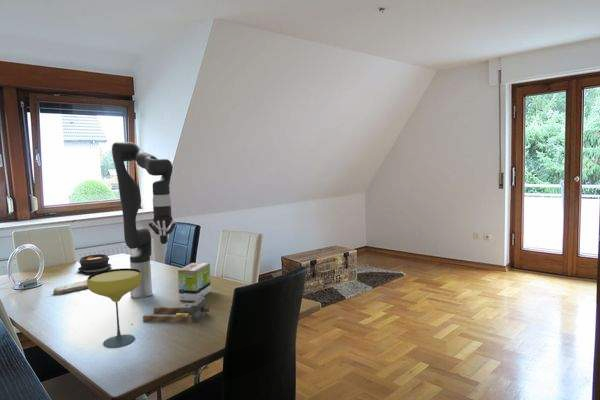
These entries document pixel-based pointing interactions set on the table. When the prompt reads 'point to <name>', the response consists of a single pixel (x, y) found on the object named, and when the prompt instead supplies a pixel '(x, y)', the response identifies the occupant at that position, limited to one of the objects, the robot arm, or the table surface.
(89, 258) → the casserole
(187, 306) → the dice cube
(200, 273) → the tea box
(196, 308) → the guide channel
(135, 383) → the table surface
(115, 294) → the cocktail glass
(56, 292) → the elongated rock
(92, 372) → the table surface
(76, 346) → the table surface
